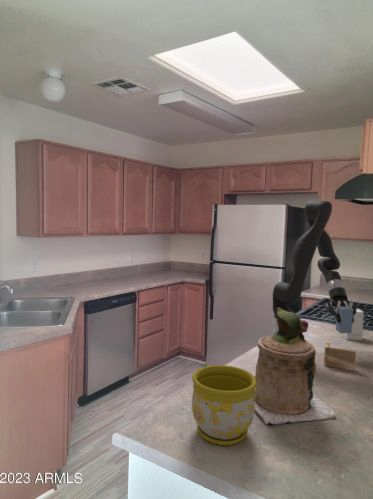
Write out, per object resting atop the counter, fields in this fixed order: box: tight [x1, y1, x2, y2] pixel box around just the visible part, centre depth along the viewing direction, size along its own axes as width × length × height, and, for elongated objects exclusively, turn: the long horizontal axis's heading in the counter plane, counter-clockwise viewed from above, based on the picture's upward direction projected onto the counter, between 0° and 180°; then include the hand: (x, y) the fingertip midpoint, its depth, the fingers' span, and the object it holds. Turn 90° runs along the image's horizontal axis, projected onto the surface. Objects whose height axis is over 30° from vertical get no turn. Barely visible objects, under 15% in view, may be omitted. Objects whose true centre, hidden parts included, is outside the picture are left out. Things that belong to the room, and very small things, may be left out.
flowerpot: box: [191, 364, 257, 446], centre depth 104 cm, size 18×18×16 cm
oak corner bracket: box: [323, 339, 357, 372], centre depth 159 cm, size 11×12×8 cm
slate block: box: [335, 306, 353, 334], centre depth 166 cm, size 5×5×11 cm
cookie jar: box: [254, 308, 336, 425], centre depth 122 cm, size 25×25×32 cm
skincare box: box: [342, 308, 365, 341], centre depth 195 cm, size 8×7×16 cm
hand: (346, 322), depth 165 cm, fingers closed on slate block, 5 cm apart
